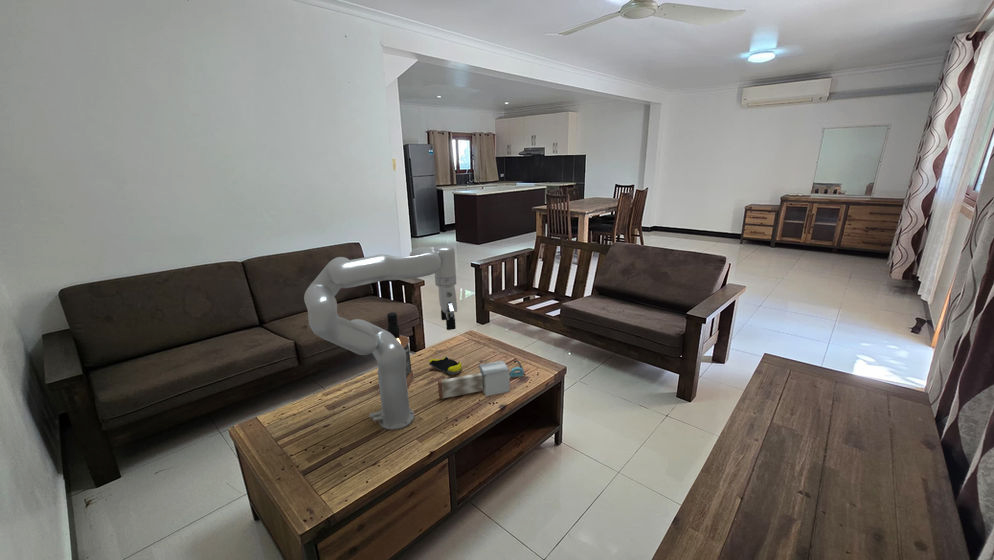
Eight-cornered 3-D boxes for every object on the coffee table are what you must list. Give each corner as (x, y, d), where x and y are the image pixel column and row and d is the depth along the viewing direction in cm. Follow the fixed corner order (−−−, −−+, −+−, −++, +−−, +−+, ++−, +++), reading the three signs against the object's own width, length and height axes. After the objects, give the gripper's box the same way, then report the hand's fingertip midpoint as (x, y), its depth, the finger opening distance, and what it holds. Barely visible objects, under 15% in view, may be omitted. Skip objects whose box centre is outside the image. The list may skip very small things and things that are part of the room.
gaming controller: (451, 381, 171) (467, 371, 179) (451, 369, 170) (466, 360, 177) (427, 370, 180) (443, 362, 188) (426, 359, 178) (442, 351, 186)
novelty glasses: (492, 381, 170) (492, 371, 169) (488, 365, 184) (488, 355, 183) (524, 378, 172) (524, 368, 171) (518, 362, 186) (518, 352, 185)
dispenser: (485, 396, 159) (484, 374, 156) (479, 386, 167) (478, 364, 164) (509, 391, 162) (509, 369, 159) (503, 381, 170) (502, 360, 167)
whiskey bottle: (405, 391, 164) (398, 318, 155) (383, 389, 166) (374, 317, 157) (414, 377, 174) (408, 309, 165) (393, 376, 176) (385, 308, 166)
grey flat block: (439, 399, 157) (438, 383, 154) (438, 396, 158) (437, 380, 156) (482, 390, 162) (482, 375, 160) (481, 387, 164) (480, 372, 162)
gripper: (461, 285, 136) (463, 331, 141) (450, 272, 152) (453, 314, 157) (439, 288, 134) (442, 335, 139) (431, 275, 150) (434, 317, 155)
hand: (448, 324), depth 148 cm, fingers open, 9 cm apart
